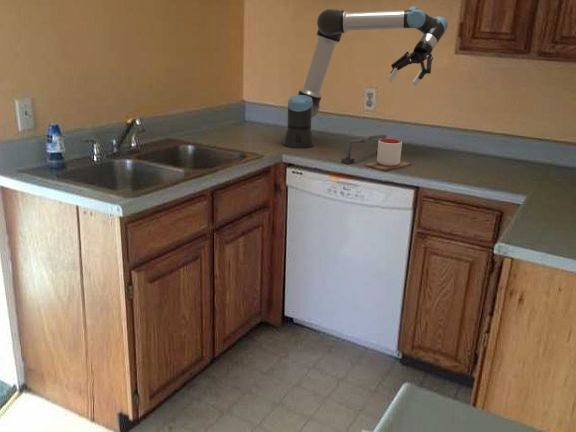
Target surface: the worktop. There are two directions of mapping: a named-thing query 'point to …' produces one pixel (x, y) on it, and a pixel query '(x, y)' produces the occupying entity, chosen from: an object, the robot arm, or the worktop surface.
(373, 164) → the walnut board
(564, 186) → the worktop surface
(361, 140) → the jointed metal bar
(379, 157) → the cup
